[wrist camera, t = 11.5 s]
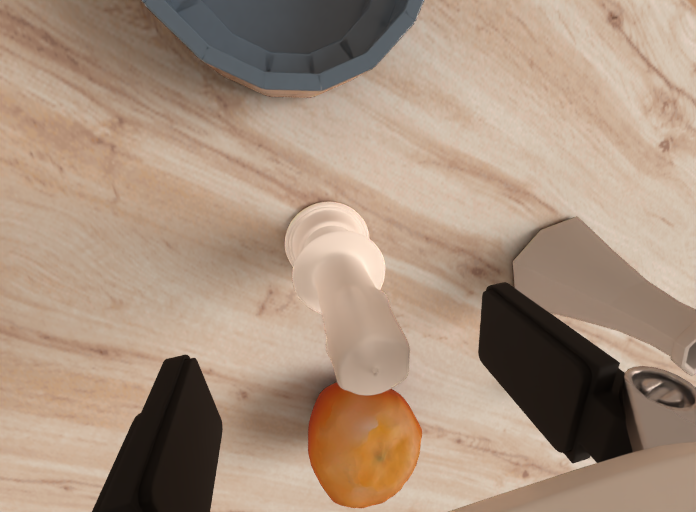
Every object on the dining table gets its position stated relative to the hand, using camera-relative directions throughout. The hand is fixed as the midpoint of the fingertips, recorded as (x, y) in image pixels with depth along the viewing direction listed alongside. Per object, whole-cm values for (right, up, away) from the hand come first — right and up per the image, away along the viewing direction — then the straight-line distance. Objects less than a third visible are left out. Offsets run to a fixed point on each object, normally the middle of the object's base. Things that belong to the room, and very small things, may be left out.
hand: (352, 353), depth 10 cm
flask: (+15, +3, +14) cm, 21 cm away
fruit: (0, -8, +16) cm, 18 cm away
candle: (-1, +4, +10) cm, 11 cm away
